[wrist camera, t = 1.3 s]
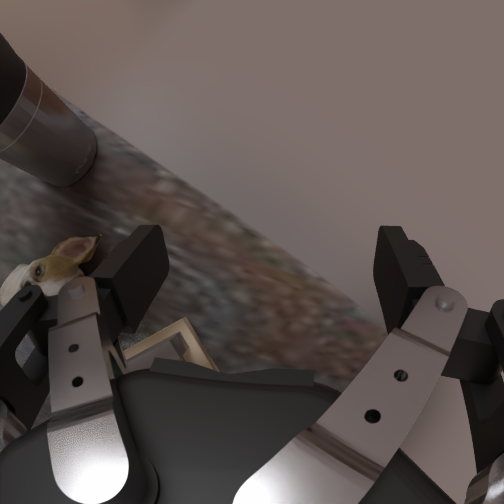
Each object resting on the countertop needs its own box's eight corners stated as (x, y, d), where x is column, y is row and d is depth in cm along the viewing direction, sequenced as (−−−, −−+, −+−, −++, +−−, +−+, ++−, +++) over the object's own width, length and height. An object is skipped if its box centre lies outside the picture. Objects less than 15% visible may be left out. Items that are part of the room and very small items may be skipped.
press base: (118, 353, 34) (93, 368, 27) (186, 316, 35) (172, 326, 28) (221, 494, 33) (218, 526, 26) (286, 467, 34) (293, 498, 27)
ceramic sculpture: (-20, 254, 26) (80, 221, 27) (19, 258, 35) (109, 232, 36) (-4, 345, 25) (100, 329, 27) (33, 334, 34) (126, 317, 36)
